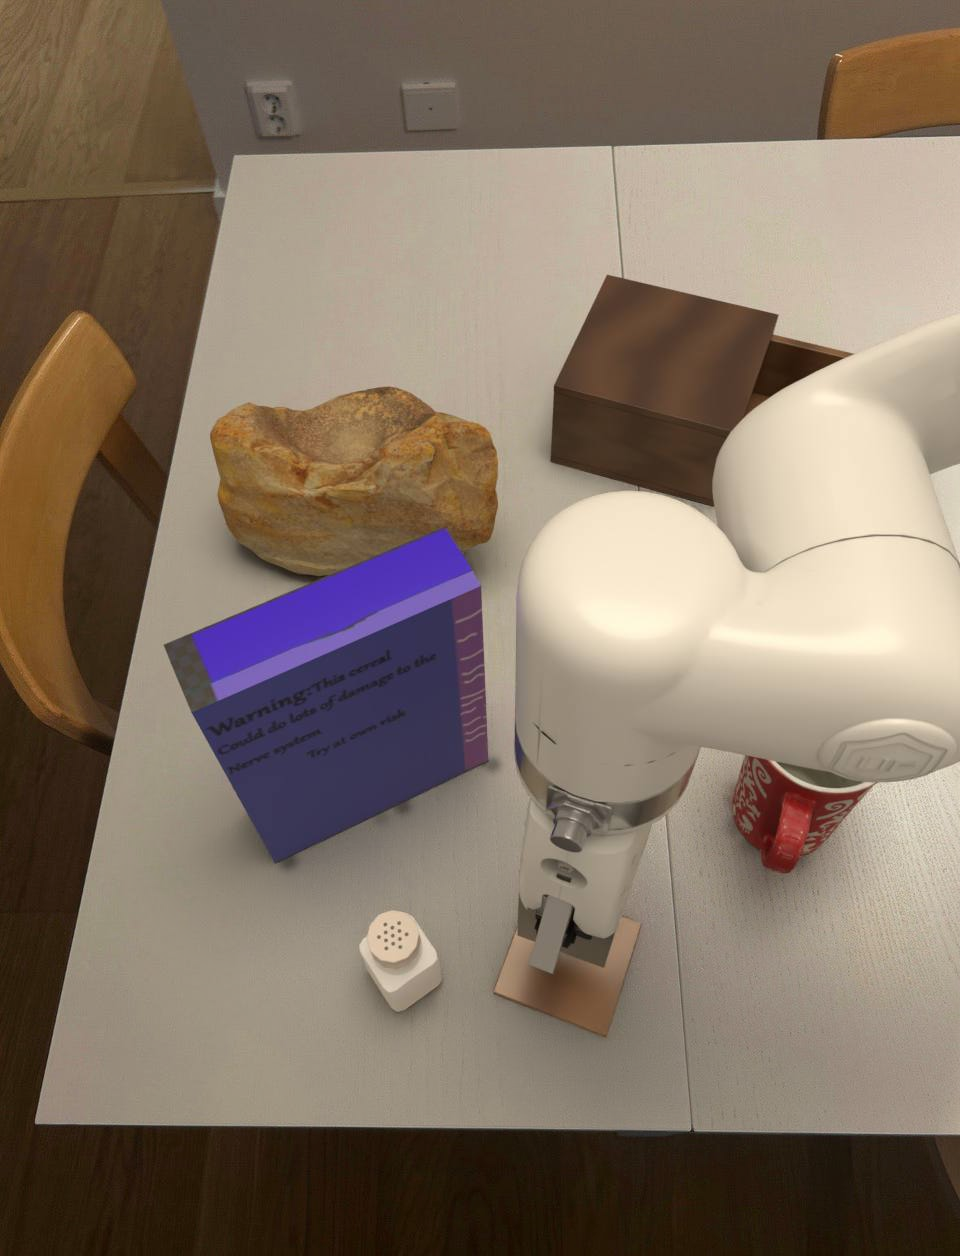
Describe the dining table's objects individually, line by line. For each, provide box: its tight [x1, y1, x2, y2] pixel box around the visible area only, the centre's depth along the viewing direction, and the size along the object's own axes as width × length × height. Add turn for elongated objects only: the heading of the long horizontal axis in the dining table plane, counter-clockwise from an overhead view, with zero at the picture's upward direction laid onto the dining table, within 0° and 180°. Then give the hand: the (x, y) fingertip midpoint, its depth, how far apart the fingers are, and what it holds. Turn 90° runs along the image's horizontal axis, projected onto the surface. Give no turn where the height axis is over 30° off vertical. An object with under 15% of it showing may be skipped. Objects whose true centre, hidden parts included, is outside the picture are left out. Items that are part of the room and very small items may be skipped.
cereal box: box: [163, 527, 489, 865], centre depth 70 cm, size 17×5×24 cm, turn 117°
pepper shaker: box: [358, 909, 443, 1013], centre depth 68 cm, size 4×4×10 cm
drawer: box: [744, 334, 854, 417], centre depth 91 cm, size 19×13×8 cm
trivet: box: [492, 915, 642, 1038], centre depth 73 cm, size 8×8×1 cm
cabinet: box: [550, 274, 780, 507], centre depth 94 cm, size 16×15×10 cm
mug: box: [731, 755, 879, 875], centre depth 72 cm, size 13×9×14 cm
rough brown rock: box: [209, 386, 499, 577], centre depth 88 cm, size 23×17×15 cm
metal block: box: [517, 869, 616, 968], centre depth 60 cm, size 6×4×12 cm
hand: (579, 880), depth 59 cm, fingers closed on metal block, 4 cm apart
